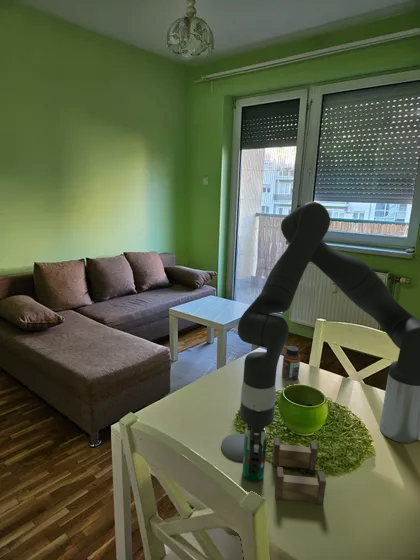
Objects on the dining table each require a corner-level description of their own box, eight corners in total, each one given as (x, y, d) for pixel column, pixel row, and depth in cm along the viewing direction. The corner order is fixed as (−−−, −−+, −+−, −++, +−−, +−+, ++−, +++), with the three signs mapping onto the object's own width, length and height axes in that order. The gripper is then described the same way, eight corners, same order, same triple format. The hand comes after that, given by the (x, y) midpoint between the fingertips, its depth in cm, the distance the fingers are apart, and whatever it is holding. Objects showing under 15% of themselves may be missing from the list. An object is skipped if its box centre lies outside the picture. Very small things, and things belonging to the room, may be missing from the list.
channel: (312, 462, 90) (315, 441, 88) (323, 505, 77) (326, 481, 76) (272, 458, 91) (274, 437, 89) (275, 499, 78) (278, 476, 77)
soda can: (249, 463, 88) (252, 420, 86) (267, 474, 85) (271, 429, 83) (237, 475, 85) (240, 430, 82) (256, 486, 81) (260, 440, 79)
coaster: (259, 437, 98) (259, 435, 98) (260, 463, 89) (260, 461, 88) (222, 433, 99) (222, 432, 99) (219, 459, 90) (220, 457, 89)
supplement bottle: (278, 373, 134) (281, 345, 131) (292, 372, 136) (295, 344, 133) (286, 381, 128) (289, 352, 126) (301, 379, 130) (304, 350, 127)
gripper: (241, 381, 88) (237, 442, 92) (240, 416, 74) (235, 486, 78) (272, 384, 87) (267, 445, 91) (277, 420, 73) (271, 490, 77)
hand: (253, 464), depth 84 cm, fingers closed on soda can, 5 cm apart
